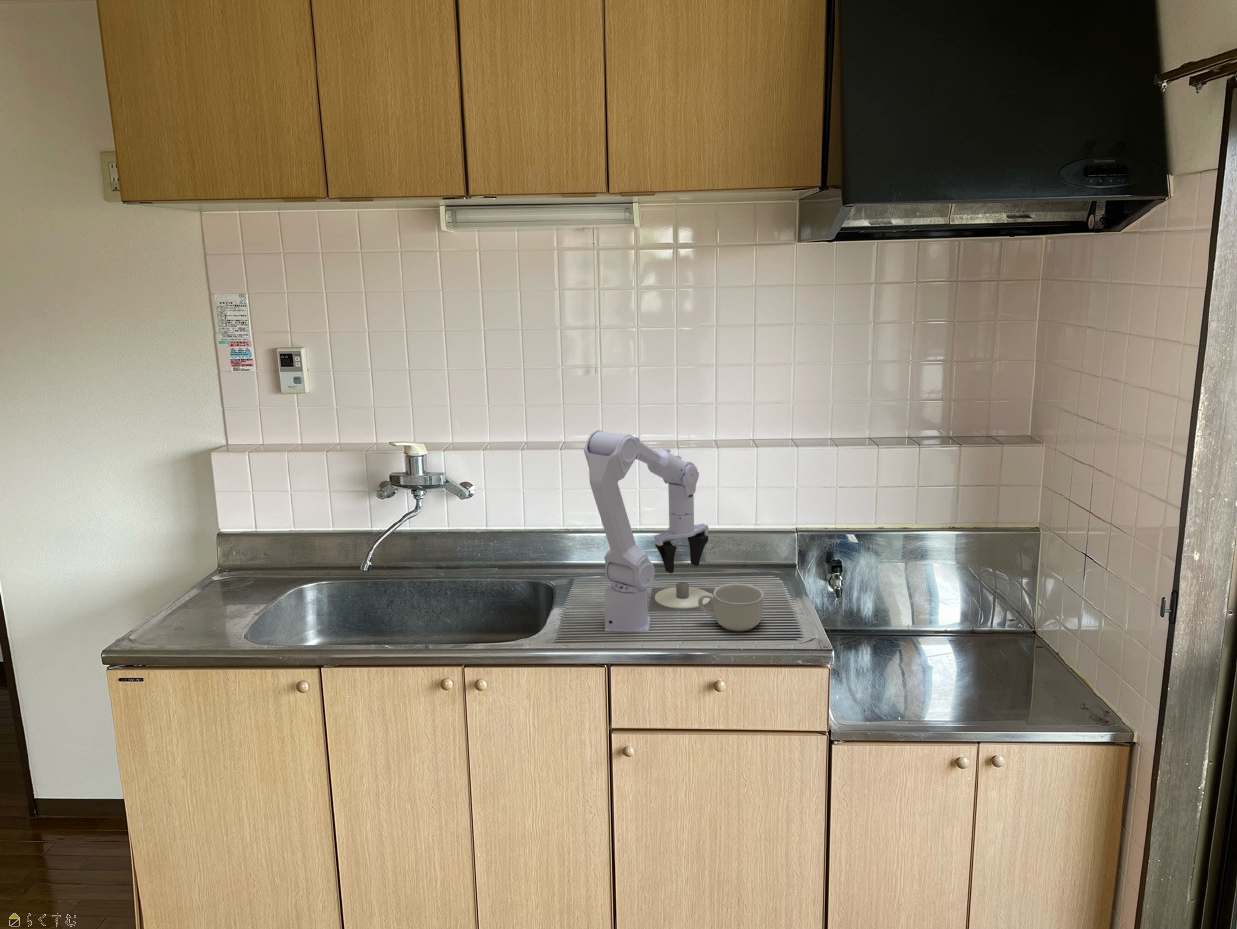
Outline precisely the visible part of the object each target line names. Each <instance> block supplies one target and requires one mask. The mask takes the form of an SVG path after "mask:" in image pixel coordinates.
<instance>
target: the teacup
mask: <svg viewBox="0 0 1237 929" xmlns="http://www.w3.org/2000/svg"><path fill="white" fill-rule="evenodd" d="M713 594H714V595H712V594H711V593H703V594H701V595H700V596H699V599H698V604H699V607H700V608H701V609H702V610H703V611H702V612H705V614H708V615H709V616H710V617H711V618H712V619H714V620H715V621H716V622H717V623H718V625H720V626H722V628H723V629H725V630H727V631H731V632H746V631H749V630H752V629H753V628H755V627H756V626H758V625H759V623H760V622H761V621H762V618H763V610H764V609H763V606H764V595H765V594H764V592H763V591H762V590H761V589H760V588H759V587H756V586H754V585H751V584H746V583H726V584H723V585H719V586H718V587H716V588H714V593H713ZM704 598H709V599H711V601H712V604H713V605H714V611H713V610H710V609H708V608H706V607H705V606H704V605H703V603H702V601H703V599H704Z"/></svg>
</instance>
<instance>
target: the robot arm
mask: <svg viewBox="0 0 1237 929" xmlns="http://www.w3.org/2000/svg"><path fill="white" fill-rule="evenodd" d="M583 453H584V456H585V459H586V462H587V466H588V476H589V477H588V478H589V484H590V489H591V491H592V494H593V497H594V502H595V504H596V507H597V510H598V511H597V512H598V514H599V517H600V520H601V524H602V526H603V527H602V528H603V530H604V532H605V536H606V538H607V542H608V546H609V548H610V549H609V550H608V551H607V552H606V554H605V555H604V556H603V559H604V564H605V565H604V566H605V569H604V570H605V576H606V579H607V580H608V581H609V582H610V586H605V588H604V594H603V596H604V597H603V598H604V600H603V602H604V603H603V604H604V606H603V607H604V611H603V617H604V631H605V632H649V630H650V624H651V616H649V614H648V589H649V588H650V586H651V585H652V584H653V582H654V580H655V576H656V570H655V566H654V564H653V562H651V561H650V559H649V556H648V554H647V553H646V552H645V551H644V550H643V549H642V548H641V547H640V546H638V544H636V540H635V538H634V537H635V536H634V533H633V530H632V526H631V523H630V519H629V517H628V512H627V510H626V506H625V503H624V499H623V497H622V496H623V495H622V493H621V489H620V486H619V481H621V480H623V479H625V477H626V475H627V473H628V472H629V470H630V469H631V467H632V465H633V464H634V462H635V460H637V461H639V462H641V463H644V464H646V466H647V469H648V470H649V471H650V473H652V474H654V475H655V476H658V477H659V478H661V479H662V481H663V483H664V484H667V485H668V488H667V489H668V526H669V527H668V529H667V530H665V531H663V532H661V533H659V534H656V535H654V536H653V537H654V538H653V540H654V547H656V549H657V551H658V553H659V555H660V557H661V560H662V562H663V566H664V570H665V572H667V573H669V574H673V573H674V571H675V556H676V555H675V554H676V551H677V548H678V547H677V546H676V545H673V543H672V542H676V541H679V540H682V539H687V541H688V545H689V557H690V565H692V566H695V567H698V566H699V565H700V562H701V557H702V554H703V551H704V549H705V546H706V545H707V543H708V541H709V535H707V534H709V525H708V524H706V523H700V524H695V504H694V503H695V502H694V500H695V498H694V494H695V493H696V491H697V483H698V480H699V478H700V477H699V476H700V472H699V470H698V467H697V466H696V465H695V464H694V463H693V462H692V461H691V462H690V461H685V460H683V459H682V456H681V455H674V454H673V453H671V449H669V448H667V447H661V448H657V449H654V448H652V447H651V446H649V445H648V444H646V443H645V442H643V441H642V440H640V437H637V436H634V435H632V434H629V433H627V434H622V433H615V432H608V431H603V430H599V429H598V430H594V431H593V432H592V433H590V434H589V436H588V438H587V440H586V443H585V445H584V448H583Z"/></svg>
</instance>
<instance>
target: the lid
mask: <svg viewBox="0 0 1237 929" xmlns="http://www.w3.org/2000/svg"><path fill="white" fill-rule="evenodd" d="M666 588H667V589H664V590H661V591H659V592H658V593H657V594H656V595H655V601H656V603H657V604H659V605H661V606H663V607H666V608H671V609H694V608H699V604H698V599H699V596H700V595H701V594H703V593H708V592H706V591H704V590H702V589H698V588H699V587H691V586H690V584H689V583H688V582H686V581H680V582H676V584H675V586H673V587H666ZM709 602H710V599H709V598H704V599H703V601H702V603H703V605H706V604H708V603H709Z"/></svg>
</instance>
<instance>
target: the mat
mask: <svg viewBox="0 0 1237 929" xmlns="http://www.w3.org/2000/svg"><path fill="white" fill-rule="evenodd" d="M667 588H668V587H652V588H651V595H650V601H649V607H648V608H649V610H648V611H649V612H704V611H703V610H702V609H701V608H700V607H699V608H694V609H671V608H666V607H663V606H661V605H659V604H657V603H656V601H655V595H656V594H657V593H658V592H659V591H661V590H664V589H667ZM697 588H698V589H702V590H704V591H706V592H708V593H711V594H712V595H714V594H713V593H714V591H715V587H697ZM704 606H705V607H706V608H708V609H710V610H713V611H714V605H713V604H712V601H711V599H710V602H709V603H708V604H706V605H704Z"/></svg>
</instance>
